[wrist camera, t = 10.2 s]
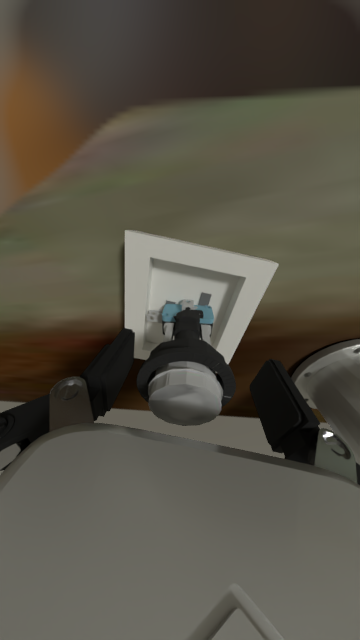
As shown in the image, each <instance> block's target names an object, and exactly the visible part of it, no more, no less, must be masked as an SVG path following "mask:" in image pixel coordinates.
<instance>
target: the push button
mask: <svg viewBox="0 0 360 640" xmlns="http://www.w3.org/2000/svg"><path fill="white" fill-rule="evenodd" d="M187 301H189V302H190V303H187ZM152 312H155V313H156V315H155V314H152ZM146 316H147V321H150V322H158V323H162V330H163V335H165V336H164V340H163V342H162V343H160V344H159V345H158V346H157V347H156V348H154V349H153V350H152V351H151V353H150V356H149V358H148V359H147V360H146V361H145V362H144V363H143V364H142V366H141V368H140V370H139V373H138V376H137V388H138V390H139V392H140V394H141V396H142V397H143V398H144V399H145V400H146V401H147V402H148V403H149V404H148V405H149V406H150V410H151V411H152V412H153V413H154V415H156V416H157V417H158V418H160V419H162V420H164V421H166V422H168V423H172V424H177V425H182V426H187V425H200V424H203V423H206V422H210V421H211V420H213V419H214V418H215V417H216V416H218V415H219V413H220V411H221V407H223V406H224V405H225V404H227V403H228V402H229V401H230V400H231V398H232V397H233V395H234V392H235V388H236V383H235V379H234V375H233V372H232V370H231V368H230V367H229V366H228V364H227V363H226V362H225V359H224V357H223V355H221V354H220V353H219V352H218V351H217V350H215V349H214V348H213V347H212V346H211V342H210V337H211V334H212V328H213V321H214V315H213V311H212V307H211V306H208V305H205V306H202V305H194V300H188V299H184V300H183V301H182V305H181V304H166V305H165V307H164V309H159V310H149V314H147V315H146ZM150 317H154V319H153V320H151V319H150ZM173 336H174V340H173ZM200 339H201V340H200ZM155 369H156V373H155V371H154V370H155ZM216 372H217V373H218V374H217V376H216Z"/></svg>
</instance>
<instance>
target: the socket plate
mask: <svg viewBox="0 0 360 640" xmlns="http://www.w3.org/2000/svg"><path fill="white" fill-rule="evenodd" d="M278 265H279V264H278V263H276V262H273V261H271V260H268V259H264V258H259V257H255V256H250V255H246V254H241V253H236V252H232V251H227V250H223V249H218V248H214V247H209V246H204V245H200V244H195V243H191V242H186V241H181V240H177V239H172V238H168V237H163V236H159V235H154V234H149V233H145V232H140V231H136V230H125V328H127V329H132V330H133V332H135V344H134V358H138V359H144V360H147V359H148V358H149V356H150V353H151V351H152V350H153V349H154V348H156V347H157V346H158V345H159V344H160V343H162V342H163V340H164V336H165V335H163V330H162V323H158V322H150V321H147V316H146V315H147V314H149V310H159V309H164V307H165V305H166V304H181V305H182V301H183V300H184V299H188V300H194V305H202V306H205V305H208V306H211V307H212V311H213V315H214V321H213V328H212V334H211V337H210V342H211V346H212V347H213V348H214V349H215V350H217V351H218V352H219V353H220V354H221V355H223V357H224V359H225V362H226V363H227V364H229V362H230V360H231V358H232V356H233V354H234V352H235V350H236V348H237V346H238V344H239V342H240V340H241V338H242V336H243V334H244V332H245V330H246V328H247V326H248V324H249V322H250V320H251V318H252V316H253V314H254V312H255V310H256V308H257V306H258V304H259V302H260V300H261V298H262V296H263V294H264V293H265V291H266V289H267V287H268V285H269V283H270V281H271V279H272V277H273V275H274V273H275V271H276V269H277V267H278ZM187 303H190V302H189V301H187ZM152 314H155V315H156V313H155V312H152ZM150 319H151V320H153V319H154V317H150ZM173 340H174V336H173ZM200 340H201V339H200ZM216 373H217V372H216Z"/></svg>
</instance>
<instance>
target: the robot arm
mask: <svg viewBox="0 0 360 640" xmlns="http://www.w3.org/2000/svg"><path fill="white" fill-rule="evenodd" d="M134 344H135V332H133V330H132V329H127V328H123V329H122V331H121V332H120V333H119V335H118V336H117V337H116V338H115V340H114V341H113V342H112V344H111V345H109V344H107V345H105V346H104V348H103V349H102V350H101V351H100V352H99V354H98V355H97V356H96V357H95V359H94V360H93V361H92V362H91V364H90V365H89V366H88V367H87V368H86V370H85V371H84V372H83V373H82V375H81V376H80V377H69V378H66V379H64V380H62V381H60V382H59V383H57V384H56V385H55V386H54V387H53V388H52V390H51V392H50V394H48V395H45V396H43V397H40V398H38V399H35V400H32V401H30V402H27V403H25V404H22V405H20V406H17V407H15V408H12V409H9V410H7V411H5V412H2V413H0V471H2V470H4V471H3V473H2V474H1V475H0V640H360V339H355V340H350V341H346V342H341V343H338V344H335V345H332V346H329V347H327V348H325V349H323V350H321V351H319V352H317V353H315V354H314V355H312V356H310V357H309V358H308V359H306V360H305V361H304V362H303V363H302V364H301V365H300V366H299V367H298V368H297V369H296V370H295V372H294V373H293V375H292V377H290V376H289V374H288V373H287V371H286V370H285V368H284V367H283V365H282V364H281V362H280V361H277V360H272V359H270V360H268V361H266V362H265V363H264V365H263V366H262V368H261V369H260V371H259V372H258V374H257V375H256V377H255V378H254V380H253V381H252V383H251V384H250V391H251V394H252V397H253V400H254V403H255V406H256V409H257V412H258V415H259V418H260V421H261V423H262V426H263V429H264V432H265V435H266V438H267V440H268V443H269V444H270V445H271V448H272V450H273V451H274V452H278V453H284V455H285V459H282V458H277V457H273V456H268V455H263V454H259V453H254V452H249V451H245V450H240V449H235V448H230V447H225V446H220V445H215V444H211V443H205V442H201V441H196V440H191V439H186V438H181V437H176V436H171V435H166V434H161V433H156V432H151V431H146V430H141V429H135V428H129V427H124V426H118V425H110V424H102V423H94V421H95V420H97V418H98V416H103V417H104V415H105V413H106V411H110V409H111V408H112V406H113V404H114V401H115V399H116V397H117V395H118V393H119V391H120V389H121V387H122V385H123V383H124V381H125V379H126V377H127V375H128V373H129V371H130V369H131V367H132V364H133V361H134ZM310 407H311V408H315V409H318V410H319V411H320V413H321V414H322V416H323V417H324V418H325V420H326V421H327V423H328V424H329V425H330V427H331V428H332V430H333V431H334V432H335V433H334V432H333V431H331V430H328V429H325V428H322V429H319V427H318V425H319V424H320V422H319V421H318V419H317V418H316V416H315V415H314V413H313V411H312V410H311V408H310Z"/></svg>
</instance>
